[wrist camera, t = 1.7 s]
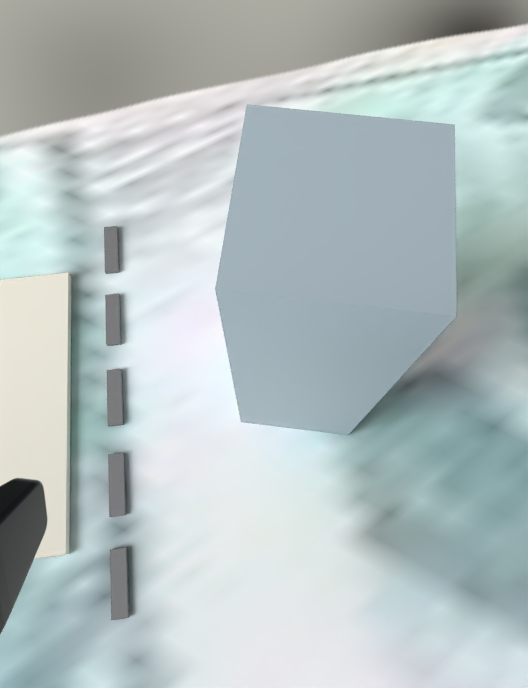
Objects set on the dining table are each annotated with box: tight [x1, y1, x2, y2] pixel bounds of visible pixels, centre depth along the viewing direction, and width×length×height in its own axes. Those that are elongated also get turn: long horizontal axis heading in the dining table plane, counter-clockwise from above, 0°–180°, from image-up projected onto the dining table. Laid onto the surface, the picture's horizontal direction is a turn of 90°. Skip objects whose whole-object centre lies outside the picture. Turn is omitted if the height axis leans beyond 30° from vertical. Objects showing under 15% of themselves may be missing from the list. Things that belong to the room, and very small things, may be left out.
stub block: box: [215, 104, 457, 435], centre depth 16 cm, size 4×4×12 cm
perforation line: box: [104, 226, 129, 620], centre depth 21 cm, size 17×1×1 cm, turn 7°
